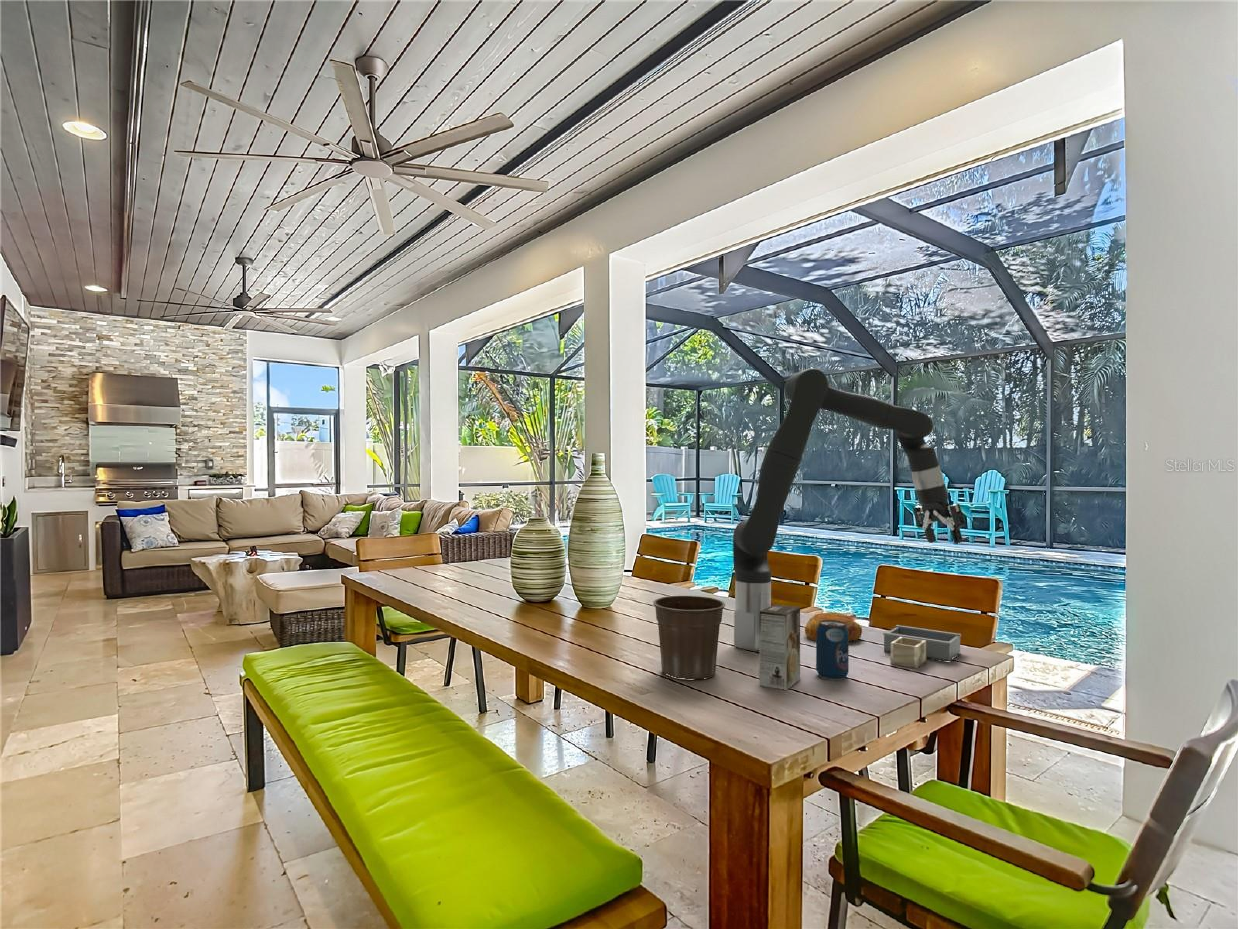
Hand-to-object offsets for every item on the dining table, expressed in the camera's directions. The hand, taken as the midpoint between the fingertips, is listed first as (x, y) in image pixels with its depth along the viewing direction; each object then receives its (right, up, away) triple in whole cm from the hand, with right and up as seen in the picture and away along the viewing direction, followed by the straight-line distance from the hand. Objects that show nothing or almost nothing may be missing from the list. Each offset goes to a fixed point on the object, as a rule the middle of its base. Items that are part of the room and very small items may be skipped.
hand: (945, 542), depth 182 cm
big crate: (-11, -27, -10) cm, 31 cm away
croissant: (-29, -27, +6) cm, 40 cm away
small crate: (-18, -27, -19) cm, 38 cm away
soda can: (-40, -27, -31) cm, 57 cm away
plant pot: (-72, -26, -29) cm, 83 cm away
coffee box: (-53, -27, -36) cm, 69 cm away
